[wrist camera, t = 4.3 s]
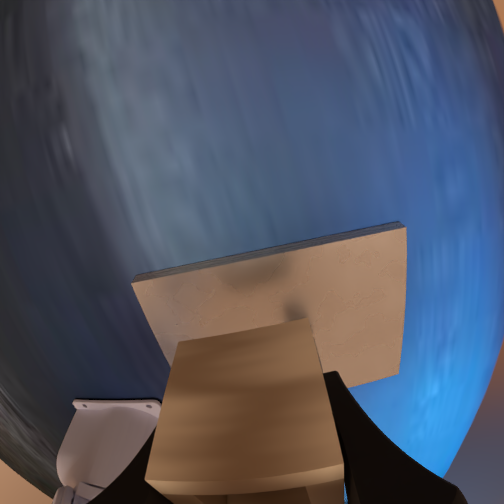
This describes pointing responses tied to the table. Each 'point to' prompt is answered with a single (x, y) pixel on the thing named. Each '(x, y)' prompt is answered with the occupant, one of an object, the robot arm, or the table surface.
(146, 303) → the base plate
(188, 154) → the table surface
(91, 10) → the table surface
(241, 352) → the hollow square block
